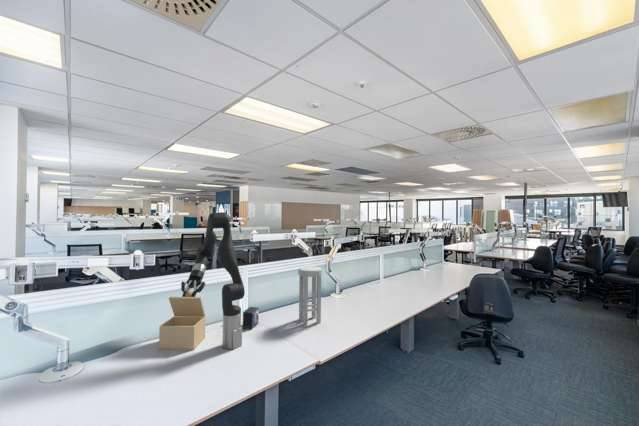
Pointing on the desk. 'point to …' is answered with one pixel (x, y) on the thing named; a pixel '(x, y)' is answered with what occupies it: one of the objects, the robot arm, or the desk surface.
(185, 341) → the carton
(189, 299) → the lid flap
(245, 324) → the small box
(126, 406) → the desk surface
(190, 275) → the robot arm
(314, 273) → the stool
